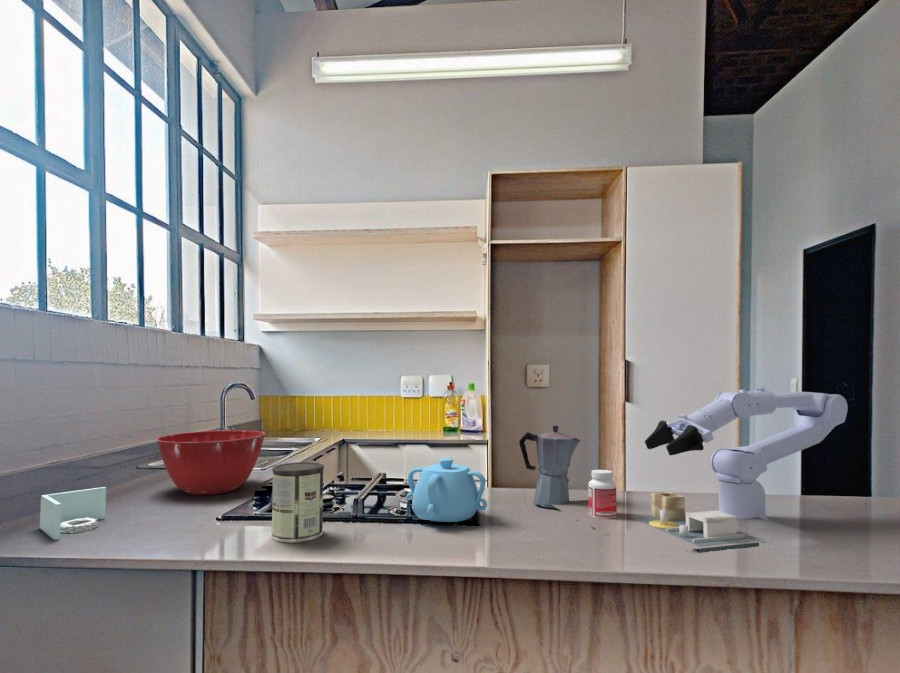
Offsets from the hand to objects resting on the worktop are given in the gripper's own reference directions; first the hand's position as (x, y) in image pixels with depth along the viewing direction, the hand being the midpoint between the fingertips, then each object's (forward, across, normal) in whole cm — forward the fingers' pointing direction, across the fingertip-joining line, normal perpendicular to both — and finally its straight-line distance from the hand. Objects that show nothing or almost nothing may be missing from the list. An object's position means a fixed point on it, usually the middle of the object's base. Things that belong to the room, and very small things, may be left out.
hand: (657, 448), depth 124 cm
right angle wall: (+118, -29, -33) cm, 126 cm away
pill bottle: (+16, -6, +12) cm, 21 cm away
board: (+4, +7, +16) cm, 18 cm away
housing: (+3, +12, +15) cm, 20 cm away
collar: (+3, -1, +16) cm, 16 cm away
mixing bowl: (+99, -63, -24) cm, 119 cm away
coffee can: (+77, -12, -16) cm, 80 cm away
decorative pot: (+47, -17, -2) cm, 50 cm away
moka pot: (+21, -22, +10) cm, 32 cm away
